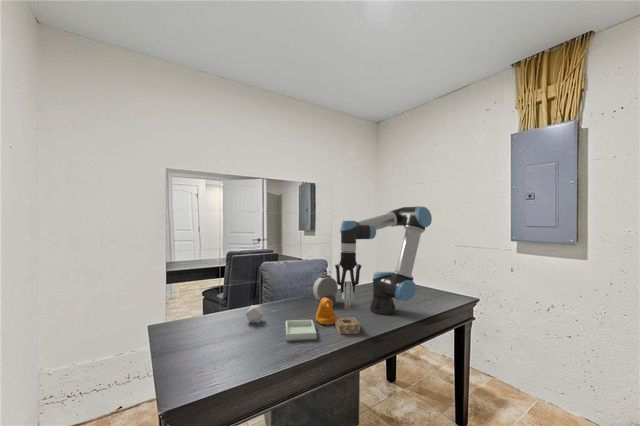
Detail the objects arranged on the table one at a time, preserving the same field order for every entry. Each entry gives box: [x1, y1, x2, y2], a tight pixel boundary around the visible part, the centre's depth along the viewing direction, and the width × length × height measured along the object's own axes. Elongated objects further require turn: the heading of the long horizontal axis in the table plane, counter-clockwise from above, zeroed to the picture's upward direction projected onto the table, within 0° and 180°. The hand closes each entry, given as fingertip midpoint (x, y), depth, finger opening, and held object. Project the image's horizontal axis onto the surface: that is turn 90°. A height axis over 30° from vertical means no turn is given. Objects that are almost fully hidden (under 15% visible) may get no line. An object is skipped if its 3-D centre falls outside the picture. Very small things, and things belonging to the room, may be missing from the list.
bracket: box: [314, 297, 340, 326], centre depth 146 cm, size 11×7×12 cm, turn 119°
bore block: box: [334, 316, 361, 335], centre depth 136 cm, size 10×10×4 cm
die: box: [245, 304, 265, 324], centre depth 144 cm, size 8×9×10 cm
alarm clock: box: [312, 274, 339, 307], centre depth 177 cm, size 16×10×18 cm, turn 122°
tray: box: [284, 319, 318, 342], centre depth 131 cm, size 14×16×3 cm
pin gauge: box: [343, 280, 352, 310], centre depth 136 cm, size 3×3×13 cm
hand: (347, 298), depth 136 cm, fingers closed on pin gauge, 3 cm apart
